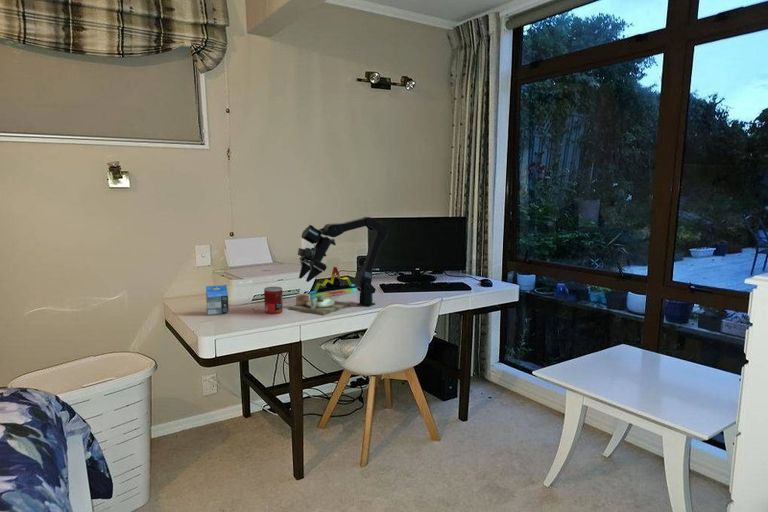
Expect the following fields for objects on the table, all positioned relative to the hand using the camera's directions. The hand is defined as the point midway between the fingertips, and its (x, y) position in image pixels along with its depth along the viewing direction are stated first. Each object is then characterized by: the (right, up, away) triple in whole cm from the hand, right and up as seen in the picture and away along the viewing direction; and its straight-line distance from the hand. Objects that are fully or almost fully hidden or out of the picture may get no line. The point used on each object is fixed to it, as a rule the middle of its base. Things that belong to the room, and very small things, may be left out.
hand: (303, 279), depth 212 cm
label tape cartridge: (-38, -15, 0) cm, 41 cm away
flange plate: (+4, -12, +11) cm, 17 cm away
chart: (+9, -10, +37) cm, 39 cm away
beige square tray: (+6, -13, +12) cm, 19 cm away
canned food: (-14, -15, +2) cm, 20 cm away
